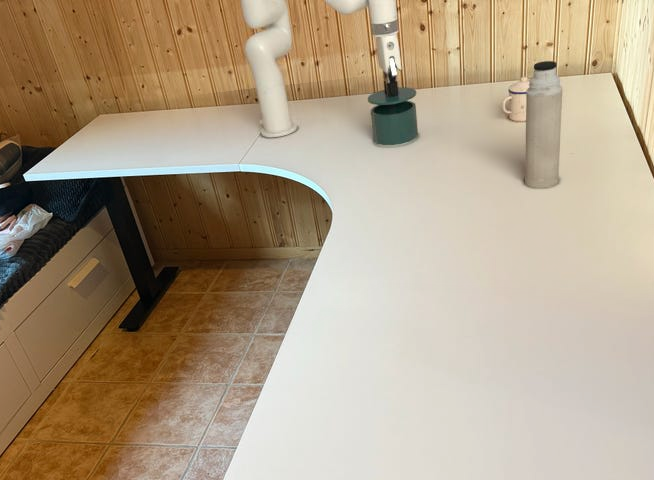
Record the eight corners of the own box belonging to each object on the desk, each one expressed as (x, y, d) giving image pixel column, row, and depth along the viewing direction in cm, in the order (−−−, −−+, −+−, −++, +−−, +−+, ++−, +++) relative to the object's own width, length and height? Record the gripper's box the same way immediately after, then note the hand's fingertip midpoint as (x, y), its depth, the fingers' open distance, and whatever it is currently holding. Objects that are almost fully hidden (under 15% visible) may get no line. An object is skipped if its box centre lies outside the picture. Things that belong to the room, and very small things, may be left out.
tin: (365, 143, 208) (361, 112, 203) (394, 128, 215) (391, 98, 209) (397, 149, 200) (394, 117, 194) (427, 134, 206) (424, 103, 200)
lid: (358, 104, 201) (355, 82, 198) (391, 89, 208) (388, 68, 205) (393, 109, 192) (391, 87, 188) (426, 93, 199) (425, 71, 195)
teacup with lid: (528, 109, 210) (528, 71, 203) (545, 116, 203) (546, 76, 196) (494, 119, 207) (494, 80, 200) (510, 126, 200) (510, 86, 193)
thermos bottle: (526, 175, 171) (528, 59, 154) (559, 174, 168) (564, 56, 151) (523, 188, 165) (524, 69, 148) (556, 187, 162) (562, 66, 146)
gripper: (405, 30, 182) (411, 99, 193) (390, 20, 195) (397, 85, 206) (378, 35, 182) (386, 104, 193) (366, 26, 195) (373, 90, 206)
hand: (391, 94), depth 199 cm, fingers closed on lid, 2 cm apart
